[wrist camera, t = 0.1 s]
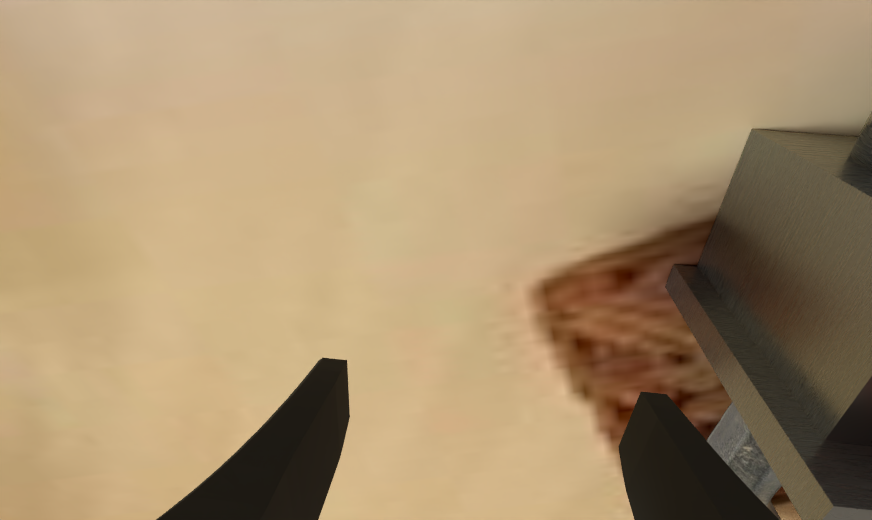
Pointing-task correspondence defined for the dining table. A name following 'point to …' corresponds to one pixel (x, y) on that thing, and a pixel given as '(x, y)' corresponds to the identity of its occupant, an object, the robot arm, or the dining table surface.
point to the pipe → (744, 456)
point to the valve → (795, 312)
